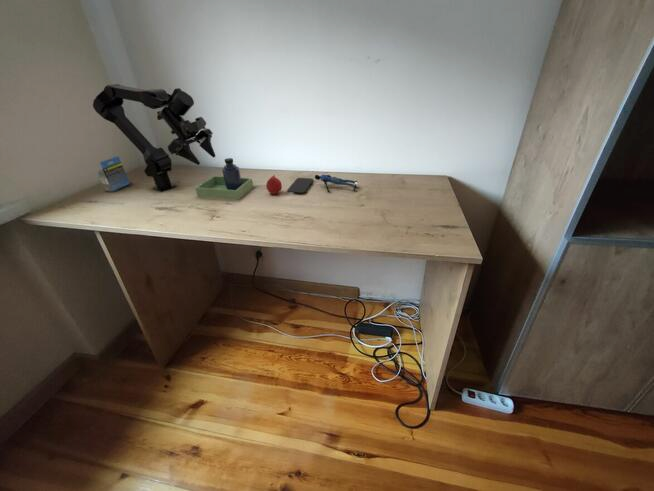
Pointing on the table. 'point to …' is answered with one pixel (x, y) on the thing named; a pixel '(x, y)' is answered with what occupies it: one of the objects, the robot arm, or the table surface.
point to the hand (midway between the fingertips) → (207, 160)
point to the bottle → (231, 175)
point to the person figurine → (336, 181)
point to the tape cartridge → (113, 175)
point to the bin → (222, 188)
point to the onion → (274, 185)
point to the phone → (300, 185)
